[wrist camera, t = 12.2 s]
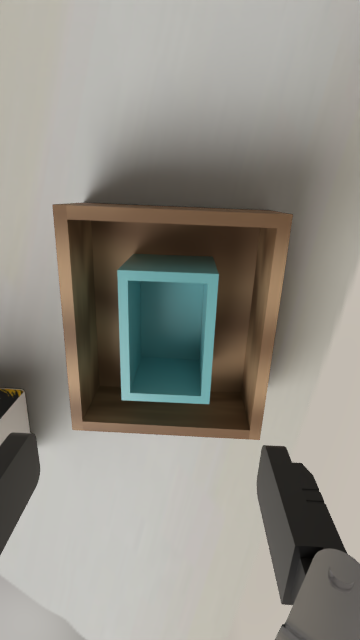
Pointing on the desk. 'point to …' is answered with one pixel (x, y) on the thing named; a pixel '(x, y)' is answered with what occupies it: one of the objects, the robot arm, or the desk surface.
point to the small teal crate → (167, 327)
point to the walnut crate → (230, 325)
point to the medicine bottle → (13, 412)
